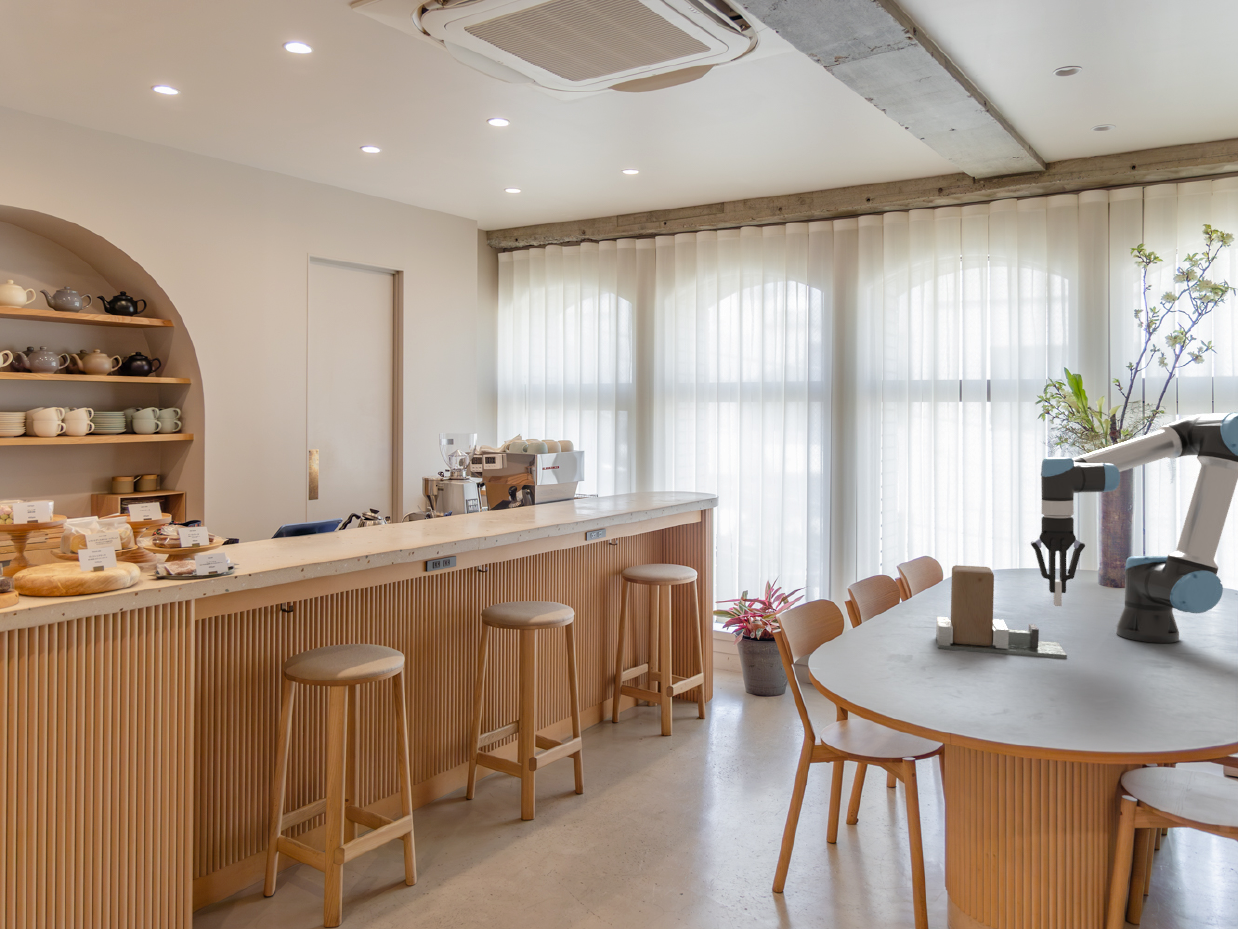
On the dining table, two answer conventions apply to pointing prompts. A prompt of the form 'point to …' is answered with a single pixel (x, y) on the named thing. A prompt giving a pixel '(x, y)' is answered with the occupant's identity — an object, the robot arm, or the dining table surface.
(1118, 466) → the robot arm
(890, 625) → the dining table surface
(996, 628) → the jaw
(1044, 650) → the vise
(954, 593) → the wooden block
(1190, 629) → the dining table surface
